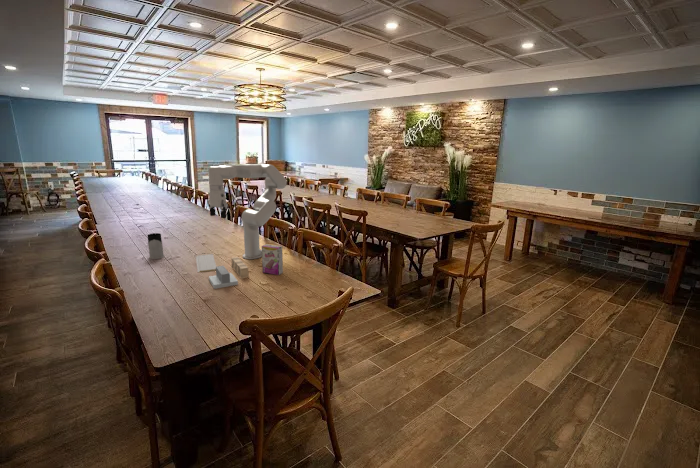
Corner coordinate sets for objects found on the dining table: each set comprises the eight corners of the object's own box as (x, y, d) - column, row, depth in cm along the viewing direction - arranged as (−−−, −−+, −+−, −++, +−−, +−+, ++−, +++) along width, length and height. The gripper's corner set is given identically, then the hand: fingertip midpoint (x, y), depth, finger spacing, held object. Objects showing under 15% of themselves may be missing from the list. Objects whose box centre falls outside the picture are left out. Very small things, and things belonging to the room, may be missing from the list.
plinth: (231, 276, 194) (230, 264, 192) (238, 284, 182) (237, 272, 181) (208, 279, 188) (207, 267, 186) (214, 288, 176) (213, 275, 174)
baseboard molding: (194, 273, 198) (217, 271, 203) (194, 269, 197) (216, 266, 202) (193, 258, 225) (213, 256, 230) (193, 253, 224) (212, 252, 229)
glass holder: (148, 259, 218) (145, 236, 214) (150, 253, 230) (148, 231, 227) (163, 258, 221) (161, 235, 218) (165, 252, 234) (163, 230, 230)
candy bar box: (262, 273, 200) (260, 246, 196) (266, 270, 204) (265, 243, 201) (278, 275, 196) (278, 248, 192) (283, 273, 201) (282, 246, 197)
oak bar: (231, 267, 209) (231, 257, 208) (238, 266, 211) (238, 256, 210) (241, 278, 191) (240, 268, 190) (248, 277, 193) (248, 267, 192)
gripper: (231, 188, 199) (233, 217, 203) (212, 186, 208) (214, 214, 212) (220, 189, 193) (222, 219, 197) (201, 187, 202) (203, 215, 206)
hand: (218, 216), depth 204 cm, fingers open, 9 cm apart
